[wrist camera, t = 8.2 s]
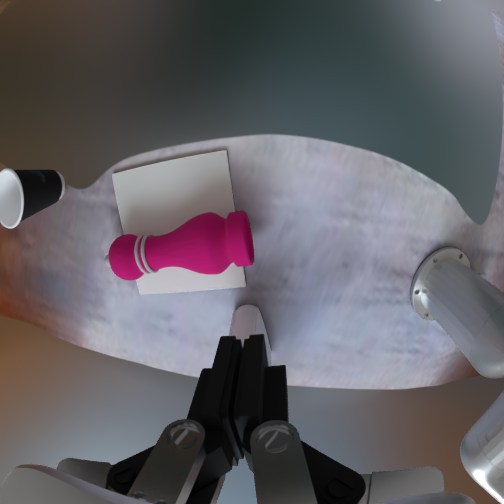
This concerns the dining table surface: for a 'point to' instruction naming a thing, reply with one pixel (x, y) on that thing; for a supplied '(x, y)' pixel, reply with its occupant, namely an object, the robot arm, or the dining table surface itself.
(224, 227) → the pepper mill
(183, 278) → the mat
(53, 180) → the dixie cup
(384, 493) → the robot arm
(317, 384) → the dining table surface
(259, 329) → the photo printer
